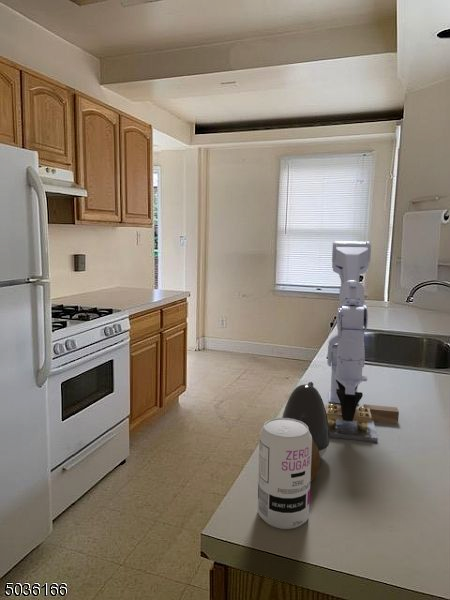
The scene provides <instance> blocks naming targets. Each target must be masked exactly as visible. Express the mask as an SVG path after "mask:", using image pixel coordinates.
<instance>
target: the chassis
mask: <svg viewBox="0 0 450 600" xmlns="http://www.w3.org/2000/svg"><path fill="white" fill-rule="evenodd" d="M329 405H330V413H334V405H335V403H329ZM359 408H360V411H362V412H361V416H365V417H366V412H364V411H365V407H364V406H360V407H359ZM327 419H328V425H329V434H330V438H336V439H343V440H350V441H351V440H352V441H360V442H369V443H370V442H371V443H378V441H379V437H378V434H377V429H376V425H375V421H373V420H372V422H371V423H369V422H359V421H343V420H339V419H329V418H327Z"/></svg>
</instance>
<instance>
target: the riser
mask: <svg viewBox="0 0 450 600" xmlns="http://www.w3.org/2000/svg"><path fill="white" fill-rule="evenodd" d="M363 407H365V408H369V409H370V413H371V417H372V420H373V421H374V422H381V423H388V424H389V423H390V424H399V418H400V417H399V415H400V411H399V409H398V407H397V406H386V405H375V404H366V403H364V404H363Z"/></svg>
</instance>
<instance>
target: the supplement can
mask: <svg viewBox="0 0 450 600" xmlns="http://www.w3.org/2000/svg"><path fill="white" fill-rule="evenodd" d="M258 441H259V442H258V477H257V478H258V482H257V484H258V485H257V486H258V487H257V491H258V492H257V512H258V515H259V517H260V518H261V519H262V520H263V521H264V522H265V523H266V524H268V525H269V526H271V527H273V528H276V529H280V530H293V529H297V528H299V527H300V526H302V525H304V523H306V522H307V520H308V519H309V517H310V501H311V499H310V498H311V482H310V479H311V455H312V436H311V434H310V432H309V430H308V426H307V425H306V424H305V423H303V422H301V421H298V420H295V419H290V418H282V417H278V418H277V417H276V418H271V419H269V420H267V421H265V422H264V423H263V427H262V428H261V430H260V431H259V439H258Z"/></svg>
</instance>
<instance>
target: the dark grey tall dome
mask: <svg viewBox="0 0 450 600" xmlns="http://www.w3.org/2000/svg"><path fill="white" fill-rule="evenodd" d="M281 418H290V419H295V420H298V421H301V422H303V423H305V424H306V425H307V426H308V430H309V432H310V434H311V436H312V439H313V440H314V442H315V444H316V445H317V447H318V449H319V455H320V459H321V458H322V457H323V456H324V455H325V454H326V451H327V449H328V447H329V446H330V443H331V442H330V441H331V439H330V438H331V437H330V434H329V425H328V419H327V415H326V406H325V404H324V401H323V399H322V396H321V394H320V392H319V391H318V389H317V388H316V387H314V382H312V381H309V382H308V383H307V384H300V385H298V386H296V387H295V388H294V389H293V390H292V392H291V394H290V395H289V396H288V399H287V401H286V404H285V406H284V410H283V413H282V417H281Z"/></svg>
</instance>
